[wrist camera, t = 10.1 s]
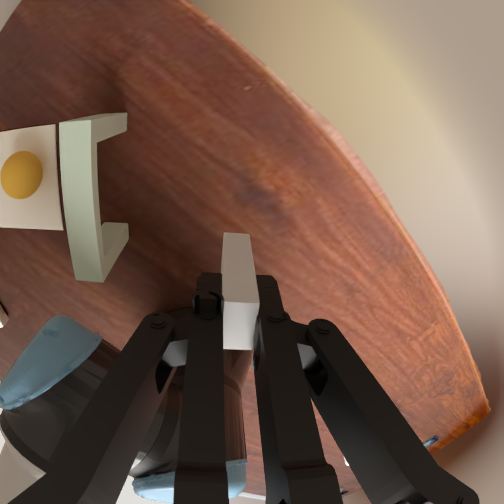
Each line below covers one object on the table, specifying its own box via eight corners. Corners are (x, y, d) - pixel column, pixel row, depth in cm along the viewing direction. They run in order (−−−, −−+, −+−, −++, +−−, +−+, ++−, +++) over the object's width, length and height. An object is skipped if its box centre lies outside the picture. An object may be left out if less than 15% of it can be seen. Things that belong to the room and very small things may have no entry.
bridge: (127, 112, 27) (91, 119, 19) (129, 238, 34) (103, 282, 26) (101, 113, 27) (59, 122, 19) (106, 237, 34) (75, 279, 26)
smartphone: (439, 438, 76) (404, 460, 80) (438, 436, 77) (403, 458, 81) (435, 436, 73) (397, 458, 77) (434, 433, 74) (397, 456, 78)
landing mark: (63, 229, 33) (62, 230, 32) (-6, 226, 31) (-7, 227, 31) (55, 124, 27) (55, 124, 26) (-18, 135, 25) (-18, 135, 25)
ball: (-6, 201, 25) (26, 186, 30) (18, 210, 25) (52, 194, 30) (-9, 155, 23) (25, 144, 28) (15, 159, 22) (52, 148, 27)
